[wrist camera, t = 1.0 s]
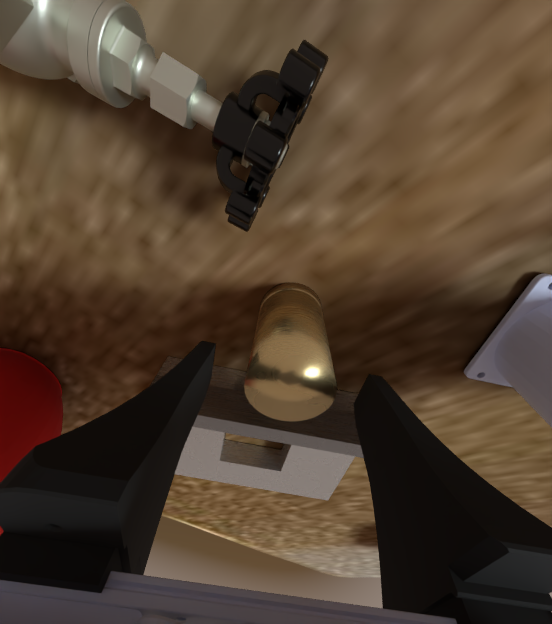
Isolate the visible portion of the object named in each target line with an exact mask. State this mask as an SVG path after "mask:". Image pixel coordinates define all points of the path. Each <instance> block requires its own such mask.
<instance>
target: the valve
mask: <svg viewBox="0 0 552 624" xmlns="http://www.w3.org/2000/svg"><path fill="white" fill-rule="evenodd" d="M327 62H328V56H327V55H326V54H324V53H323V52H321V51H320V50H319V49H317V48H316V47H314V46H313V45H312V44H310V43H309V42H307V41H306V40H303V41H302V43H301V44H300V46H299V49H298V51H296V50H294V49H291V50H290V51H289V53H288V55H287V57H286V59H285V61H284V63H283V66H282V68H281V71H280V73H277V72H274V71H270V70H263V71H260V72H257V73H255V74H254V75H252V76H251V77H250V78H249V79H248V80H247V81H246V82H245V83H244V85H243V86H242V88H241V90H240V93H239V95H238V94H237V93H235V92H230V93H229V94H228V95H227V97H226V98H225V100H224V102H223V103H222V102H220V101H218V100H217V99H215V98H214V97H212V96H210V95H209V94H207V93H206V91H207V87H206V80H205V79H203V78H202V77H201V76H200V75H198V74H197V73H195V72H194V71H192V70H191V69H189V68H187V67H186V66H184V65H183V64H181V63H179V62H178V61H176V60H175V59H173V58H172V57H170V56H168V55H167V54H165V53H164V52H163V53H162V55H161V57H160V59H159V60H158V59H156V57H155V51H154V48H153V47H152V46H151V45H149V44H148V43H147V40H146V33H145V29H144V25H143V22H142V20H141V18H140V15H139V13H138V12H137V11H136V9H135V8H134V7H133V6H132V5H130V4H129V3H128V2H126V1H125V0H0V64H2V65H3V66H5V67H7V68H9V69H11V70H14V71H16V72H18V73H21V74H24V75H27V76H30V77H34V78H39V79H47V80H53V79H62V78H68V79H70V80H71V81H73V82H75V83H78V84H80V85H81V86H82V87H83V88H84V89H85V90H86V91H87V92H89V93H90V94H92V95H94V96H95V97H97V98H99V99H101V100H103V101H104V102H106V103H108V104H110V105H111V106H113V107H115V108H124V107H126V106H128V105H129V104H130V103H131V102H132V101H133V100H134V99H135V98H137V99H140V100H144V99H145V98H146V97H147V96H149V97H150V107H151V108H152V109H154V110H156V111H158V112H159V113H161V114H163V115H164V116H166V117H168V118H169V119H171V120H173V121H175V122H176V123H178V124H180V125H181V126H183V127H185V128H188V129H192V128H193V127H194V126H195V125H196V124H197V123H199V124H201V125H202V126H204V127H206V128H207V129H209V130H211V131H212V132H213V135H212V146H213V148H214V149H216V150H217V151H219V152H218V155H217V160H216V168H217V175H218V179H219V181H220V183H221V184H222V186H223V187H224V188H225V189H226V190H227V191H228V192H229V193H230V194H231V195H230V197H229V200H228V202H227V205H226V208H225V213H226V214H228V215H229V217H228V222H229V223H231V224H233V225H235V226H236V227H238V228H240V229H242V230H244V231H246V232H248V231H249V229H250V227H251V225H252V223H253V221H254V219H255V217H256V215H257V212H258V208H260V207H261V206H262V204H263V202H264V200H265V198H266V196H267V193H268V191H269V189H270V187H269V184H270V181H271V179H272V177H273V175H274V173H275V171H276V169H277V168H280V166H281V164H282V162H283V160H284V158H285V156H286V154H287V151H288V149H289V144H288V143H289V141H290V138H291V136H292V134H293V132H294V130H295V127H296V125H297V124H300V123H301V121H302V119H303V116H304V114H305V112H306V110H307V108H308V106H309V104H310V101H311V99H312V95H311V94H312V93H313V92H314V90H315V88H316V86H317V84H318V82H319V80H320V77H321V75H322V73H323V71H324V69H325V66H326V64H327ZM259 94H266V95H268V96H270V97H272V98H273V99H275V100H276V101H278V102H279V103H280V104H279V106H278V108H277V110H276V112H275V115H274V117H273V119H272V121H271V122H270V121H269V120H268V119H269V114H268V113H267V112H265V111H263V110H262V109H260V108H259V107H257V106H256V105H255V102H256V99H257V96H258V95H259ZM233 160H234V161H236V162H238V163H240V164H241V165H243V166H244V167H246V168H247V167H248V166H249V165H252V169H251V171H250V174H249V177H248V179H247V182H244V181H243V180H241V179H239V178H237V177H236V176H234V175H233V174H232V172H231V170H230V166H231V164H232V162H233Z"/></svg>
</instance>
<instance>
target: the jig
mask: <svg viewBox="0 0 552 624" xmlns="http://www.w3.org/2000/svg"><path fill="white" fill-rule="evenodd" d="M182 360H183V359H178V358H173V357H167V359H166V361H165V362H164V364H163V365H162V367H161V369H160V370H159V372H158V374H157V375H156V377H155V378H154V380H153V382H152V383H151V385H152V384H154V383H155V382H156V381H158V380H159V379H160V378H161V377H163V376H164V375H165V374H166V373H168V372H169V371H170V370H171V369H173V368H174V367H175V366H176V365H177V364H178V363H179V362H180V361H182ZM246 374H247V372H244V371H239V370H234V369H229V368H224V367H219V366H214V365H213V370H212V377H211V380H210V384H209V387H208V390H207V393H206V397H205V399H204V401H203V404H202V406H201V408H200V411H199V413H198V415H197V418H196V420H195V422H194V425H193V427H192V429H191V431H190V434H189V436H188V438H187V441H186V443H185V445H184V448H183V451H182V453H181V456H180V459H179V462H178V465H177V468H176V471H175V474H177V475H183V476H189V477H195V478H200V479H206V480H212V481H218V482H224V483H230V484H236V485H241V486H247V487H253V488H259V489H265V490H271V491H276V492H282V493H288V494H294V495H300V496H306V497H312V498H317V499H323V500H329V498H330V496H331V495H332V493H333V491H334V490H335V488H336V487H337V485H338V483H339V482H340V480H341V478H342V477H343V475H344V474H345V472H346V470H347V469H348V467H349V466H350V464H351V462H352V461H353V459H354V457H355V456H356V457H361V458H364V457H363V453H362V449H361V445H360V441H359V437H358V433H357V428H356V423H355V415H354V405H353V404H354V402H355V400H356V398H357V396H358V394H356V393H351V392H346V391H340V390H337V394H336V397H335V400H334V401H333V403H332V404H331V406H330V407H329V408H328V409H327V410H326V411H324V412H323V413H321V414H320V415H318V416H316V417H313V418H310V419H307V420H302V421H282V420H277V419H273V418H270V417H268V416H266V415H264V414H262V413H260V412H259V411H257V410H256V409H255V408H254V407H253V406H252V405H251V404H250V402H249V401H248V399H247V397H246V394H245V390H244V384H245V379H246ZM151 385H150V386H151ZM150 386H149V387H150ZM226 433H230V434H235V435H241V436H246V437H252V438H257V439H263V440H268V441H274V442H279V443H284V445H283V448H282V450H280V449H274V448H269V447H263V446H257V445H252V444H246V443H241V442H235V441H230V440H225V435H226Z"/></svg>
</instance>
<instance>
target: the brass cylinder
mask: <svg viewBox="0 0 552 624" xmlns="http://www.w3.org/2000/svg"><path fill="white" fill-rule="evenodd" d="M244 390H245V394H246V397H247V399H248V401H249V402H250V404H251V405H252V406H253V407H254V408H255V409H256V410H257V411H259V412H260V413H262V414H264V415H266V416H268V417H270V418H273V419H277V420H282V421H302V420H307V419H310V418H313V417H316V416H318V415H320V414H321V413H323V412H324V411H326V410H327V409H328V408H329V407H330V406H331V404H332V403H333V401H334V400H335V397H336V394H337V384H336V379H335V373H334V368H333V363H332V358H331V353H330V348H329V343H328V338H327V333H326V328H325V323H324V317H323V311H322V306H321V302H320V299H319V297H318V296H317V294H316V293H315V292H314V291H313V290H312V289H310V288H309V287H307V286H305V285H302V284H299V283H283V284H280V285H277V286H275V287H273V288H272V289H270V290H269V291H268V292H267V293H266V294H265V296H264V297H263V300H262V302H261V306H260V311H259V317H258V322H257V326H256V331H255V336H254V341H253V345H252V350H251V355H250V360H249V364H248V369H247V374H246V379H245V384H244Z"/></svg>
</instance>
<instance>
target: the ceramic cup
mask: <svg viewBox="0 0 552 624" xmlns="http://www.w3.org/2000/svg"><path fill="white" fill-rule="evenodd" d="M61 397H62V388H61V385H60V383H59V381H58V379H57V378H56V376H55V375H54V374H53V373H52V372H51V371H50V370H49V369H48V368H47V367H46V366H45V365H43V364H42V363H41V362H39V361H38V360H36V359H34V358H33V357H31V356H29V355H26V354H24V353H22V352H19V351H16V350H12V349H7V348H0V482H1V481H2V480H3V479H4V478H5V477H6V476H7V475H8V473H9V472H10V471H11V470H12V469H13V468H14V467H15V466H16V465H17V464H18V462H19V461H20V460H21V459H22V458H23V457H24V456H26V455H27V454H28V453H29V452H30V451H31V450H32V449H33V448H34V447H35V446H37V445H39V444H42V443H44V442H46V441H49V440H51V439H53V438H56V437H58V436H60V435H61V430H62V421H63V404H62V398H61ZM3 532H4V531H3V529H2V528H1V526H0V536H1V534H2V533H3Z"/></svg>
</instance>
